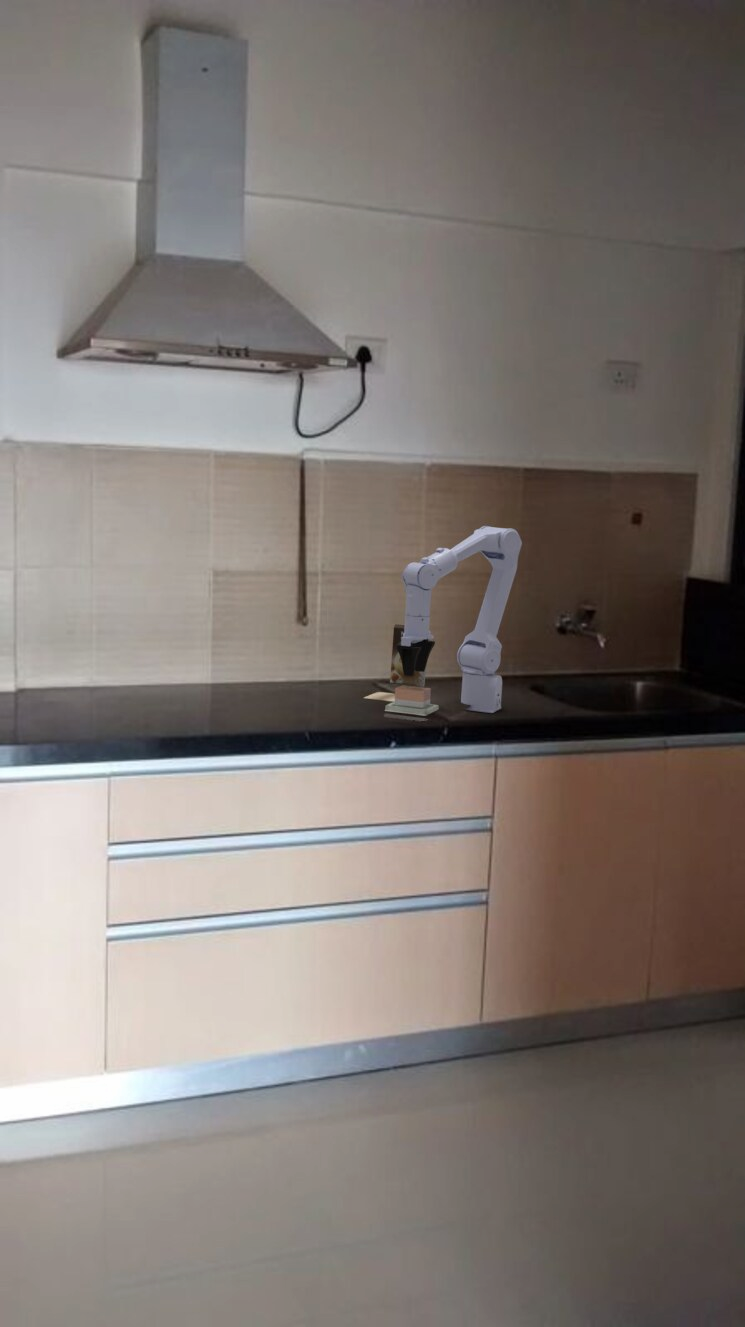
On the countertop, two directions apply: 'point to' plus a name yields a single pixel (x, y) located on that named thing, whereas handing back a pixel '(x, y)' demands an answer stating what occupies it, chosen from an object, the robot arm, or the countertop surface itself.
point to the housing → (412, 697)
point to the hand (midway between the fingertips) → (414, 673)
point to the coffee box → (396, 663)
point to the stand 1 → (382, 696)
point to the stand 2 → (409, 712)
